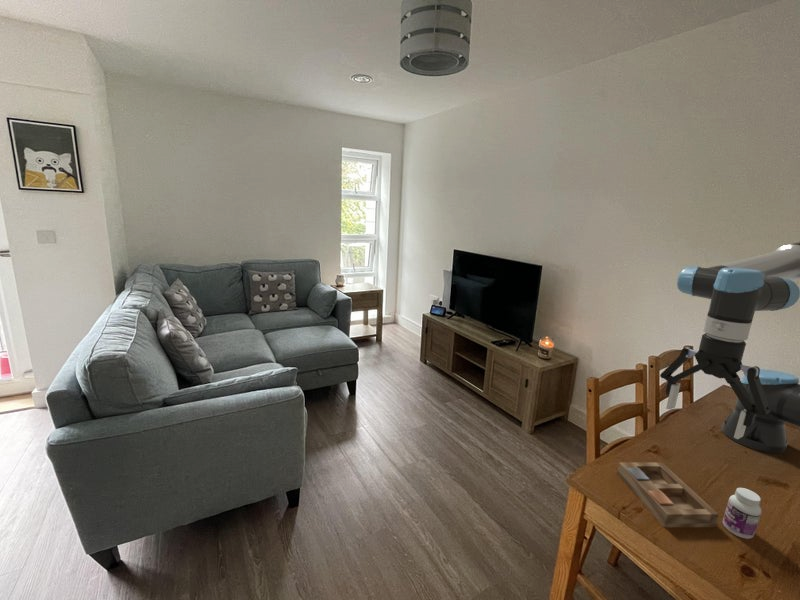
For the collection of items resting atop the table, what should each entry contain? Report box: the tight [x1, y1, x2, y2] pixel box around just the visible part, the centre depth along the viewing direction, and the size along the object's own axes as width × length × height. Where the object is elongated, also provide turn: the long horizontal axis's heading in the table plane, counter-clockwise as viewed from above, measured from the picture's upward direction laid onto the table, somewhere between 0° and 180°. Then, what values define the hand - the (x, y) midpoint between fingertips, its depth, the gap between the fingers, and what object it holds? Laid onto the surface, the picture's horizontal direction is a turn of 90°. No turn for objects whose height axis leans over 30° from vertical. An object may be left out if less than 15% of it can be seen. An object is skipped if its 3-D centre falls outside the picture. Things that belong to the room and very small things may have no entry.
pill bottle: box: [722, 487, 762, 540], centre depth 81 cm, size 5×5×10 cm
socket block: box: [616, 461, 719, 528], centre depth 91 cm, size 12×18×4 cm
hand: (702, 421), depth 87 cm, fingers open, 13 cm apart
